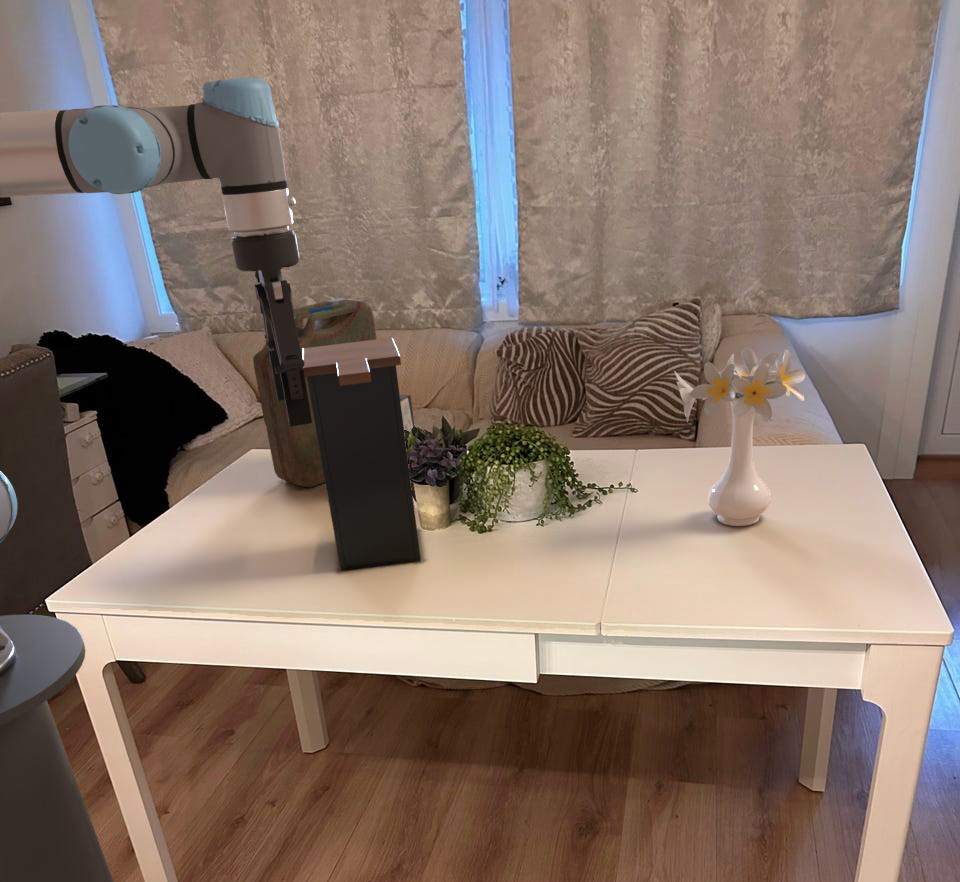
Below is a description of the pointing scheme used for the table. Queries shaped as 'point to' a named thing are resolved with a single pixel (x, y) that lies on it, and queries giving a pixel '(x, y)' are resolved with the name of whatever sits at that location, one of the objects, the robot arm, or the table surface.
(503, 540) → the table surface
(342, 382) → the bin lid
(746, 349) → the flower vase
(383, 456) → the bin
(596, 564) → the table surface
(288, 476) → the container
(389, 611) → the table surface
